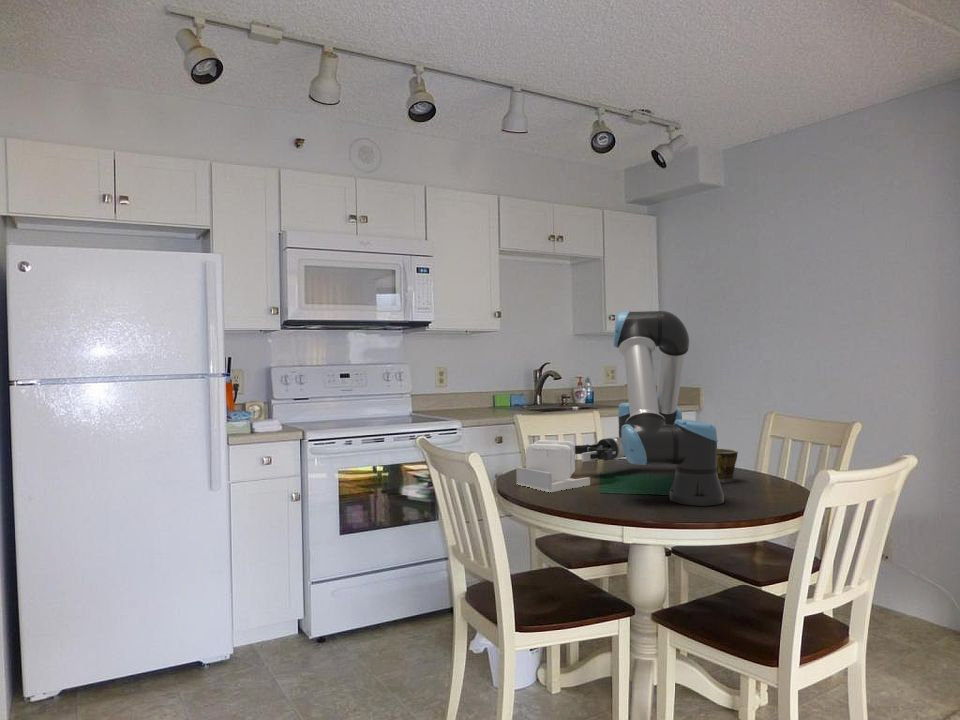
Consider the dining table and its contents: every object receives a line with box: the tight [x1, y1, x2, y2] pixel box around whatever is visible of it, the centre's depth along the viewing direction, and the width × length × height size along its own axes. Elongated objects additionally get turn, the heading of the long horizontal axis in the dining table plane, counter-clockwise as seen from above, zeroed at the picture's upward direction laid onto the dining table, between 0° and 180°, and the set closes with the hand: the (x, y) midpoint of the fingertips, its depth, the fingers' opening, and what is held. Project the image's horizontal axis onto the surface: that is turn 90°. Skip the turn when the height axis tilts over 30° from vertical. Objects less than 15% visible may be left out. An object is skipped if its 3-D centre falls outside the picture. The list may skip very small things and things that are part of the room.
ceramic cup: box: [717, 448, 738, 484], centre depth 229 cm, size 13×10×10 cm
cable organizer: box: [525, 439, 576, 481], centre depth 227 cm, size 15×11×12 cm
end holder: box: [515, 466, 591, 493], centre depth 227 cm, size 16×18×6 cm
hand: (567, 455), depth 232 cm, fingers open, 13 cm apart
